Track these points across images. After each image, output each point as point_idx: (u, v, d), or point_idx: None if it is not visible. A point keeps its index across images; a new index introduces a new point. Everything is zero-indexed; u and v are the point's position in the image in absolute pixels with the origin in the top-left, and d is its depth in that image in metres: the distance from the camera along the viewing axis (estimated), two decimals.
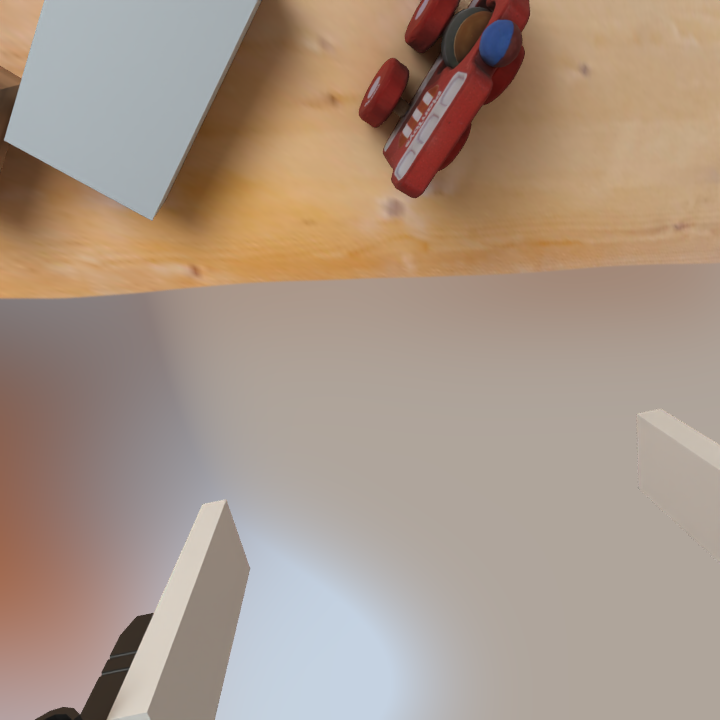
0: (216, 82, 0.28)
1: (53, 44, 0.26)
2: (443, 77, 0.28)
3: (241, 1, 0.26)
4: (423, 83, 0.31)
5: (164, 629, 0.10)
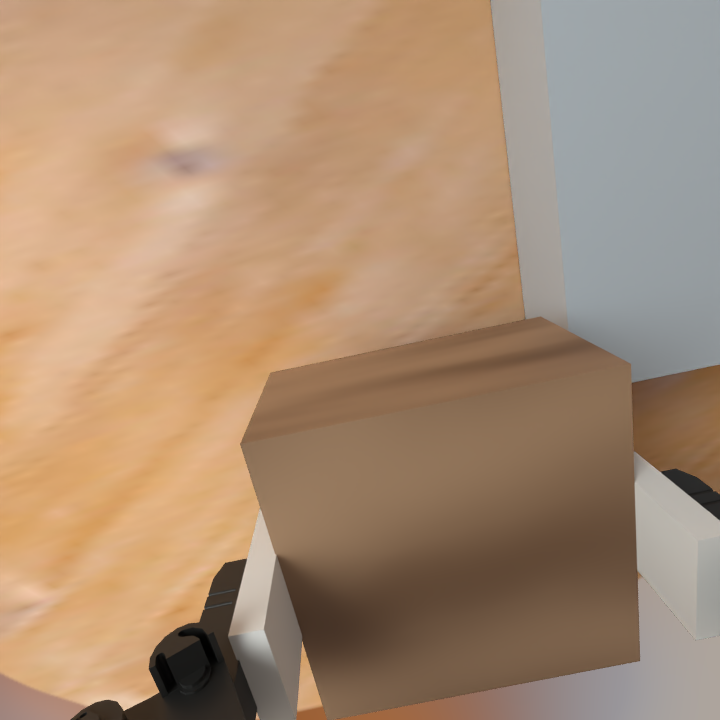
0: None
1: (587, 196, 0.15)
2: None
3: None
4: None
5: (261, 567, 0.11)
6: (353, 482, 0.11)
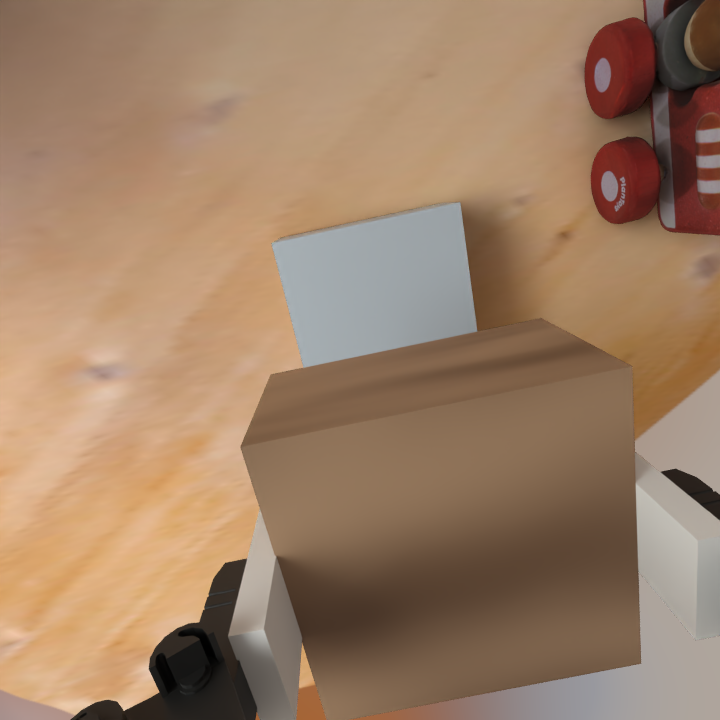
0: (475, 326, 0.24)
1: None
2: (710, 100, 0.20)
3: (451, 243, 0.23)
4: (657, 131, 0.24)
5: (261, 567, 0.11)
6: (354, 485, 0.11)
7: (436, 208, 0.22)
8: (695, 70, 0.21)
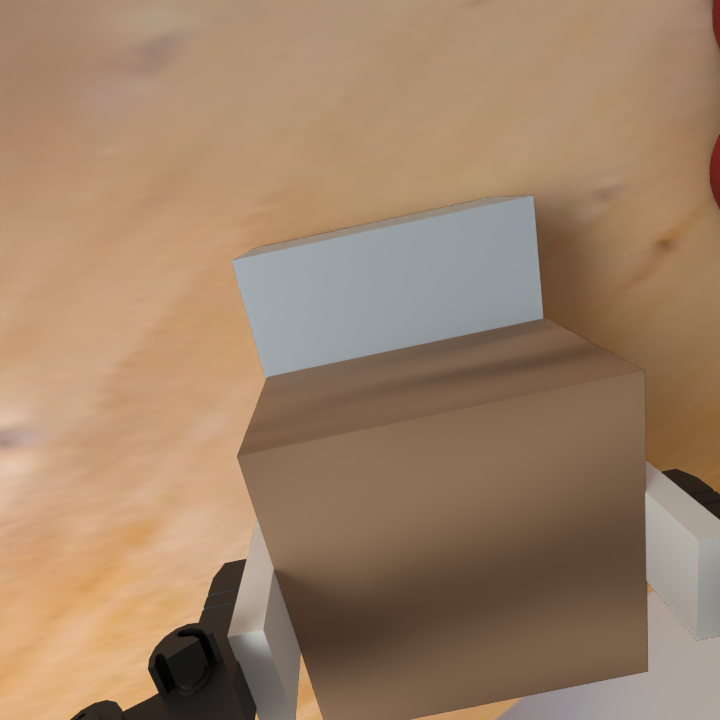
0: None
1: None
2: None
3: (515, 261, 0.14)
4: None
5: (261, 568, 0.11)
6: (355, 494, 0.11)
7: (495, 205, 0.14)
8: None
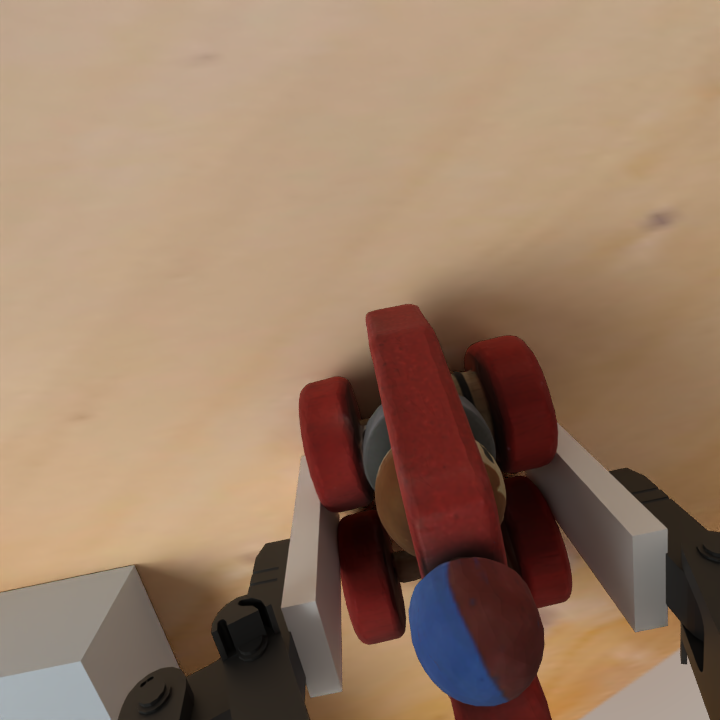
0: None
1: None
2: None
3: (80, 707, 0.15)
4: None
5: (305, 545, 0.12)
6: None
7: (45, 668, 0.14)
8: None
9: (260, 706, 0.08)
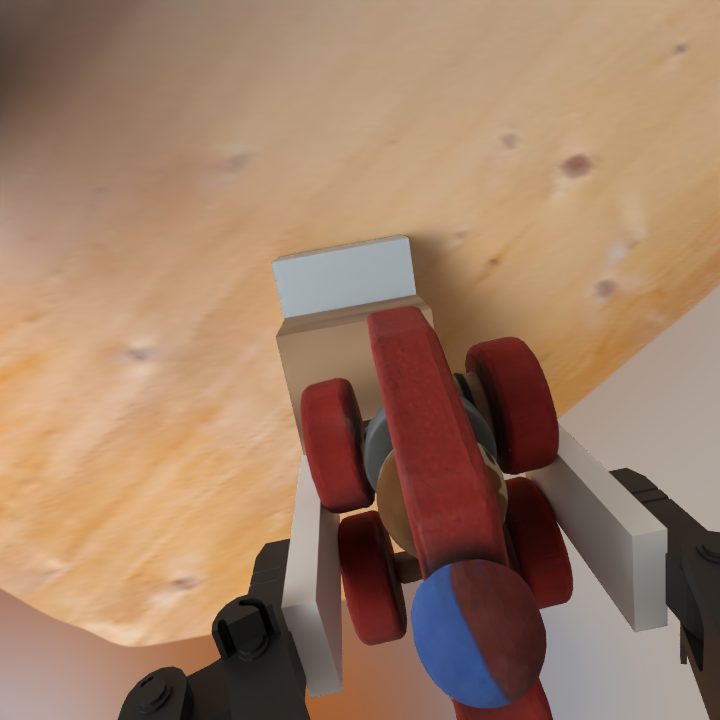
0: None
1: None
2: None
3: (401, 267, 0.31)
4: None
5: (305, 545, 0.12)
6: (320, 355, 0.27)
7: (391, 241, 0.31)
8: None
9: (260, 706, 0.08)
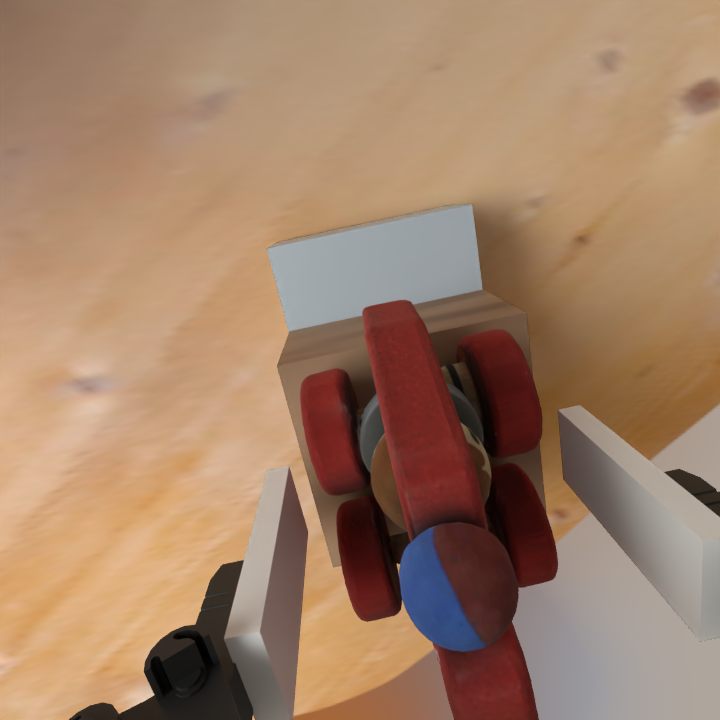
0: None
1: None
2: None
3: (461, 249, 0.21)
4: None
5: (258, 569, 0.11)
6: None
7: (446, 211, 0.20)
8: None
9: None
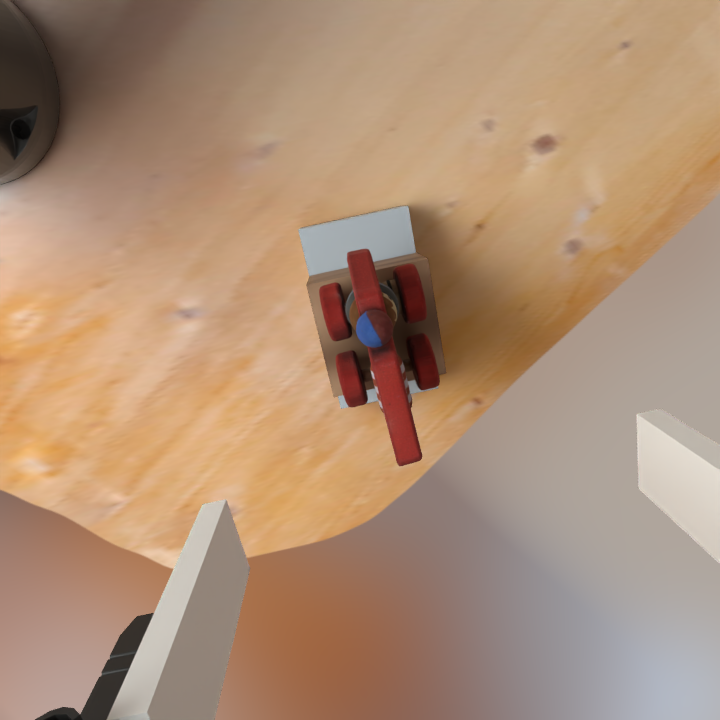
0: None
1: None
2: None
3: (403, 230, 0.38)
4: None
5: (164, 629, 0.10)
6: None
7: (394, 209, 0.38)
8: None
9: None
